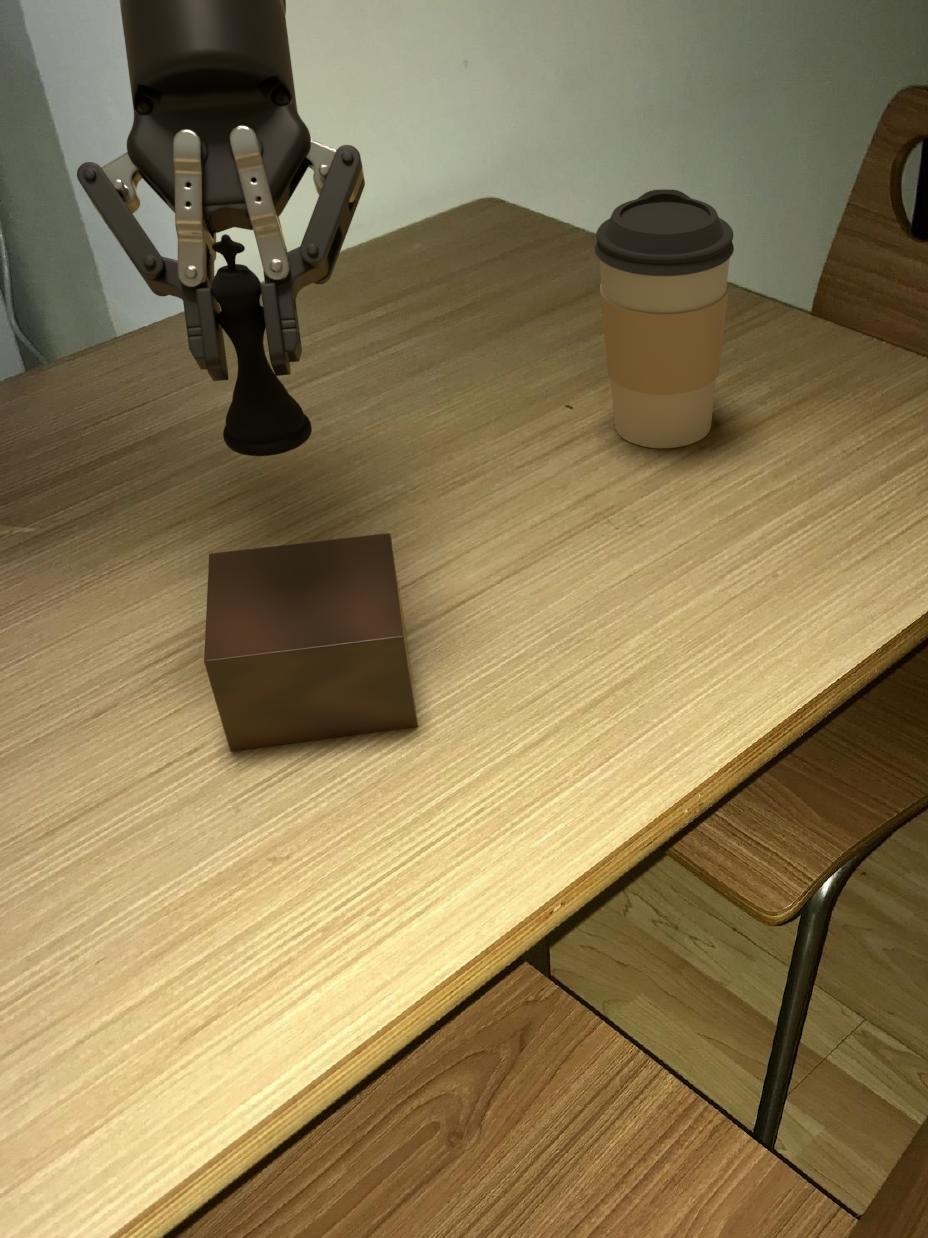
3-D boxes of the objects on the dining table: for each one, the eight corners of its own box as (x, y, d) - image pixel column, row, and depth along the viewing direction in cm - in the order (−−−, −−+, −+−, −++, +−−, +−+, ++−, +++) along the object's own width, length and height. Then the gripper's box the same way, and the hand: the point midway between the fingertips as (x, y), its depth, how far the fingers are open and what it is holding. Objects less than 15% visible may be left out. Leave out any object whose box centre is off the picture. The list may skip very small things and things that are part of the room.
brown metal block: (230, 751, 71) (203, 661, 67) (232, 641, 78) (208, 553, 74) (418, 726, 72) (403, 636, 68) (404, 620, 79) (390, 532, 75)
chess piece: (244, 411, 70) (199, 213, 63) (324, 417, 69) (288, 219, 62) (210, 453, 67) (159, 250, 60) (294, 460, 66) (252, 256, 59)
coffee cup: (728, 456, 92) (739, 234, 82) (598, 457, 93) (591, 235, 82) (723, 395, 99) (732, 181, 88) (601, 395, 99) (595, 182, 88)
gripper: (25, -34, 59) (75, 357, 59) (343, -51, 60) (391, 330, 60) (76, 65, 66) (120, 411, 66) (358, 48, 68) (401, 386, 68)
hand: (249, 371), depth 63 cm, fingers closed on chess piece, 2 cm apart
